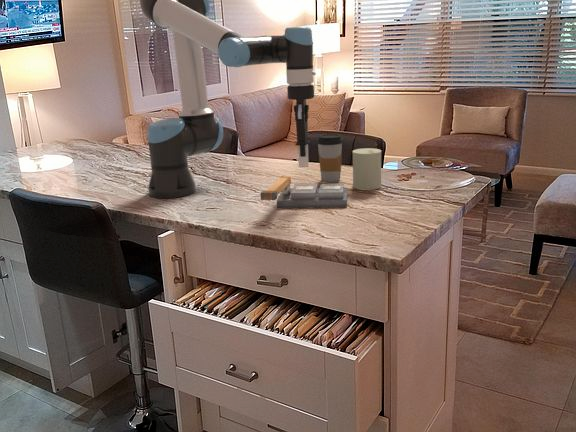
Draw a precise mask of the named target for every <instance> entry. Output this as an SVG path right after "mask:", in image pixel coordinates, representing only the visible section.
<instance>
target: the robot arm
mask: <svg viewBox="0 0 576 432" xmlns="http://www.w3.org/2000/svg"><path fill="white" fill-rule="evenodd" d="M139 4H140V9H141V11H142V14H144V16H145V18H147V19H148V20H149V21H150V22H152V23H154V24H156V25H158V26H160V27H162V28H165V27H166V29H167V30H168V31H169V32H171V34H172V37H173V45H174V51H175V61H176V69H177V75H178V83H179V84H178V85H179V93H180V98H181V107H182V109H181V111H180V113H179V114H178V117H169V118H163V119H159V120H156V121H153V122H151V123H149V125H148V126H147V130H146V131H147V132H146V133H147V142H148V151H149V158H150V168H151V174H150V177H149V178H150V179H149V183H148V196H150V197H151V196H152V198H155V197H157V198H156V199H174V198H180V197H186V196H189V195H192V194H194V193H195V192H196V191H197V187H196V183H195V181H194V180H195V179H194V178H193V175H192V173H191V171H190V169H189V168H190V167H189V163H188V157H192V156H195V155H200V154H207V153H209V152H211V151H214V150H216V149H217V148H218V147H219V146H220V145H221V144H222V141H223V139H224V128H223V124H222V122H221V121H220V119H219V118H218V117H217V116H215V113H214V112H215V111H214V110H213V109H212V108H210V106H209V100H208V89H207V82H206V73H205V64H204V57H203V49H202V47H203V48H206V49H208V50H209V51H211V52H213V53H215V54H216V55H218V58H219V60H220V61H221V64H222V65H224V66H225V67H228V68H241V67H246V66H255V65H265V64H266V65H267V64H285V66H286V67H285V71H286V72H285V73H286V84H287V85H288V86H287V87H286V89H287V99H288V100H293V101H295V103H296V104H295V105H294V106H293V112H294V118H295V119H294V122H295V126H296V129H295V130H296V142H295V146H297V147H298V148H297V149H298V150H297V151H298V152H297V153H298V168H308V167H309V166H310V165H309V144H311V141H310V140H309V133H308V132H309V131H308V130H309V129H308V126H309V124H308V123H309V109H310V105H309V104H307V100H311V99H314V98H315V86H314V84H313V83H314V76H316V74H317V73H316V71H314V61H313V59H314V58H313V57H314V55H313V54H314V49H313V48H314V46H313V45H314V41H313V31H312V28H311V27H309V26H295V27H294V26H293V27H286V28H285V29H284V34H282V35H260V36H243V35H241V34H239V33H237V32H235V31H233V30H232V29H230V28H228V27H225V26H224V25H222V24H220V23H218V22H217V21H214V20H213V19H211V18H209V17H208V13H209V12H210V2H209V0H139Z"/></svg>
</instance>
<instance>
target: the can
mask: <svg viewBox="0 0 576 432" xmlns="http://www.w3.org/2000/svg"><path fill="white" fill-rule="evenodd" d="M382 187H383V185H382V150H381V149H379V148H372V147H370V148H369V147H368V148H367V147H366V148H356V149H354V150H352V188H353V189H356V190H360V191H374V190H379V189H381V188H382Z"/></svg>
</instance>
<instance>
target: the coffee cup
mask: <svg viewBox="0 0 576 432" xmlns="http://www.w3.org/2000/svg"><path fill="white" fill-rule="evenodd" d="M317 147H318V159H319V160H318V161H319V169H320V171H319V172H320V176H321V177H320V179H321V180H322V182H324V183H337V182H339V181H340V180H341V172H342V156H343V155H342V154H343V153H342V151H343V150H342V148H343V138H342V136H341V134H339V133H335V134H334V133H329V134H327V133H326V134H320V135H318V139H317Z"/></svg>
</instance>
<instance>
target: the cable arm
mask: <svg viewBox="0 0 576 432" xmlns="http://www.w3.org/2000/svg"><path fill="white" fill-rule="evenodd" d="M291 183H292V177H291V175H281V176H280V177H279V178H278V179H277V180H276V181H275V182H274V183H273V184H272V185H270V186H269V187H268V188H267V189H266V190H261V191H260V200H261V201H277V200H278V196H279V195H280V193H281V191H282V190H283V189H284V188H286V187H287V186H288V185H289V184H290V185H291Z"/></svg>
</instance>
